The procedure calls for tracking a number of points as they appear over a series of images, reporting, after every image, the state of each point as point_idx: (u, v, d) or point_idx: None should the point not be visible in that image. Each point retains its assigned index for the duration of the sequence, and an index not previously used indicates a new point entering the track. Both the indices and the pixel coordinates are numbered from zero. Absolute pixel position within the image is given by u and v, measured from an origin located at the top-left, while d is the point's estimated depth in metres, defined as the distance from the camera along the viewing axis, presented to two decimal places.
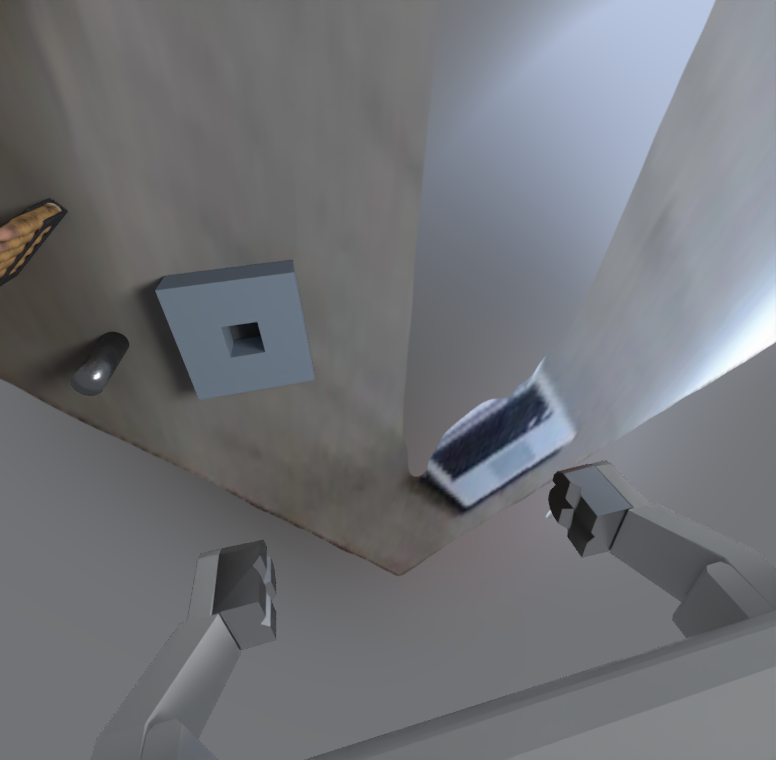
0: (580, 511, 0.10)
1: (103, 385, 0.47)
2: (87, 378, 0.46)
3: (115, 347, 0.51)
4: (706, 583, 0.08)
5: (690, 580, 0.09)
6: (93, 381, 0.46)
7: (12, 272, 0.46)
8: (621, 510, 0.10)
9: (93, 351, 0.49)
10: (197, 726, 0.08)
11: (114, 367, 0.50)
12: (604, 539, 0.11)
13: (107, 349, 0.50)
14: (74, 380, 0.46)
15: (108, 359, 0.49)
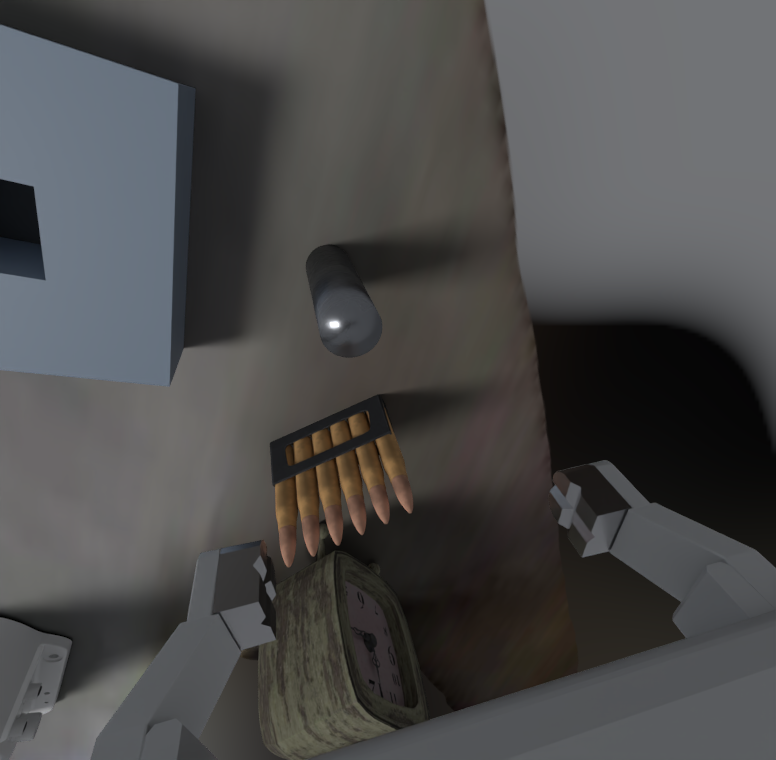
0: (581, 512, 0.10)
1: (326, 314, 0.20)
2: (342, 341, 0.21)
3: None
4: (706, 583, 0.08)
5: (689, 579, 0.09)
6: (336, 331, 0.20)
7: None
8: (621, 510, 0.10)
9: None
10: (197, 726, 0.08)
11: (316, 288, 0.23)
12: (604, 539, 0.11)
13: None
14: (367, 344, 0.21)
15: None
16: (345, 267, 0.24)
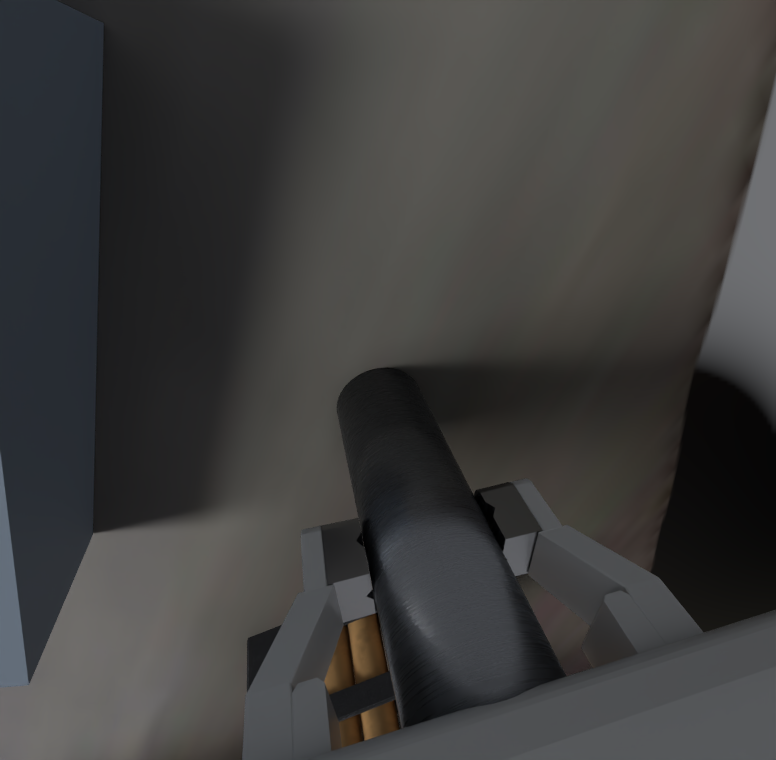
0: (494, 533, 0.10)
1: None
2: None
3: (352, 484, 0.12)
4: (604, 613, 0.08)
5: (598, 606, 0.09)
6: None
7: None
8: (531, 533, 0.10)
9: None
10: None
11: (380, 534, 0.10)
12: (519, 562, 0.10)
13: None
14: None
15: (369, 570, 0.10)
16: (440, 463, 0.11)
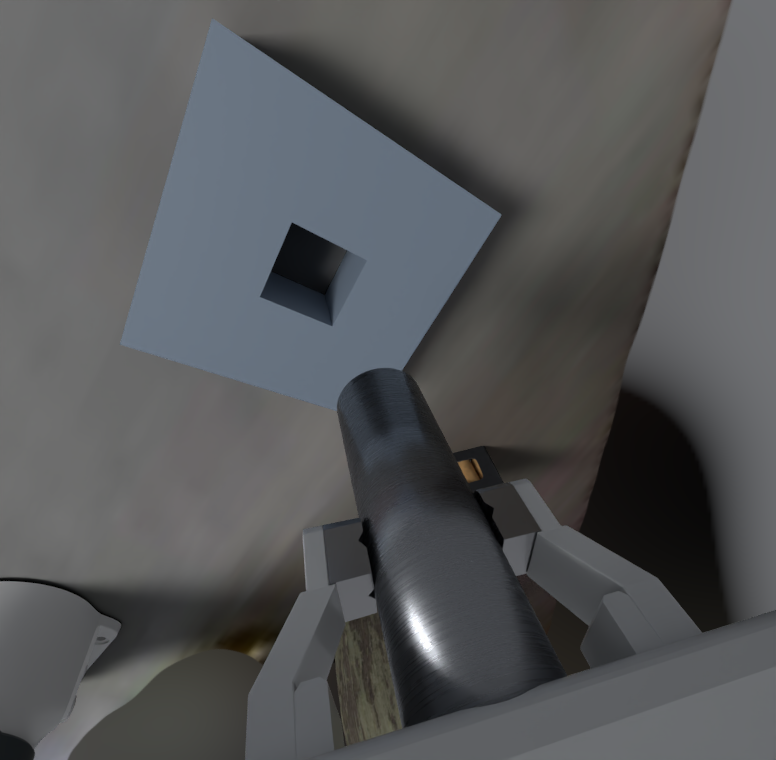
0: None
1: None
2: None
3: None
4: (602, 614, 0.08)
5: (597, 606, 0.09)
6: None
7: (478, 463, 0.40)
8: (530, 533, 0.10)
9: None
10: None
11: (381, 534, 0.09)
12: (518, 562, 0.10)
13: None
14: None
15: None
16: (441, 463, 0.11)
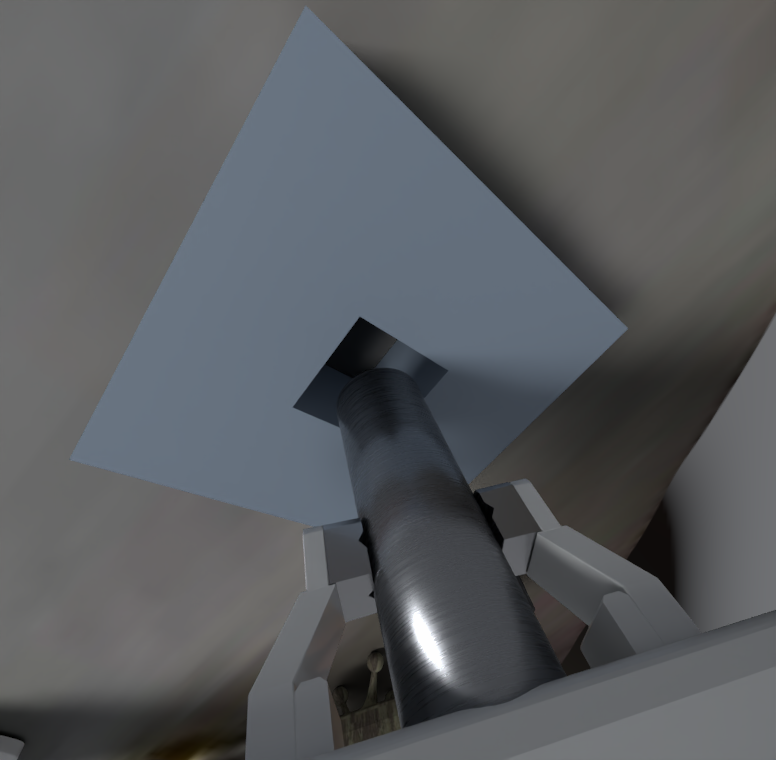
0: (493, 533, 0.10)
1: None
2: None
3: None
4: (603, 614, 0.08)
5: (597, 607, 0.09)
6: None
7: None
8: (530, 533, 0.10)
9: None
10: None
11: (380, 534, 0.09)
12: (518, 562, 0.10)
13: None
14: None
15: None
16: (440, 463, 0.11)
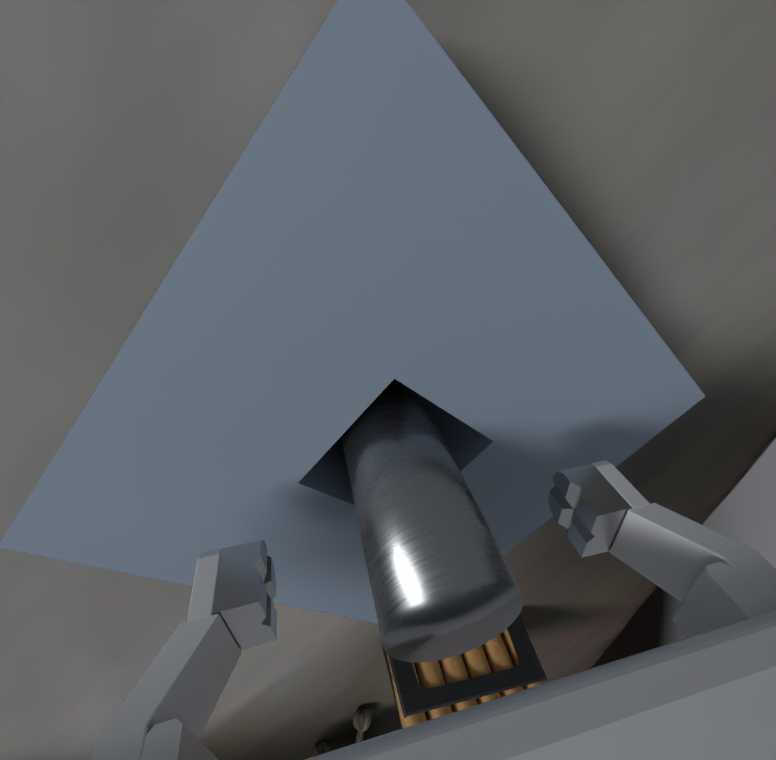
0: (581, 511, 0.10)
1: (404, 609, 0.08)
2: (429, 642, 0.09)
3: (342, 441, 0.14)
4: (706, 583, 0.08)
5: (689, 579, 0.09)
6: (421, 632, 0.09)
7: (509, 634, 0.30)
8: (621, 510, 0.10)
9: None
10: (197, 726, 0.08)
11: (363, 472, 0.11)
12: (604, 539, 0.11)
13: None
14: (480, 638, 0.09)
15: None
16: (417, 416, 0.12)
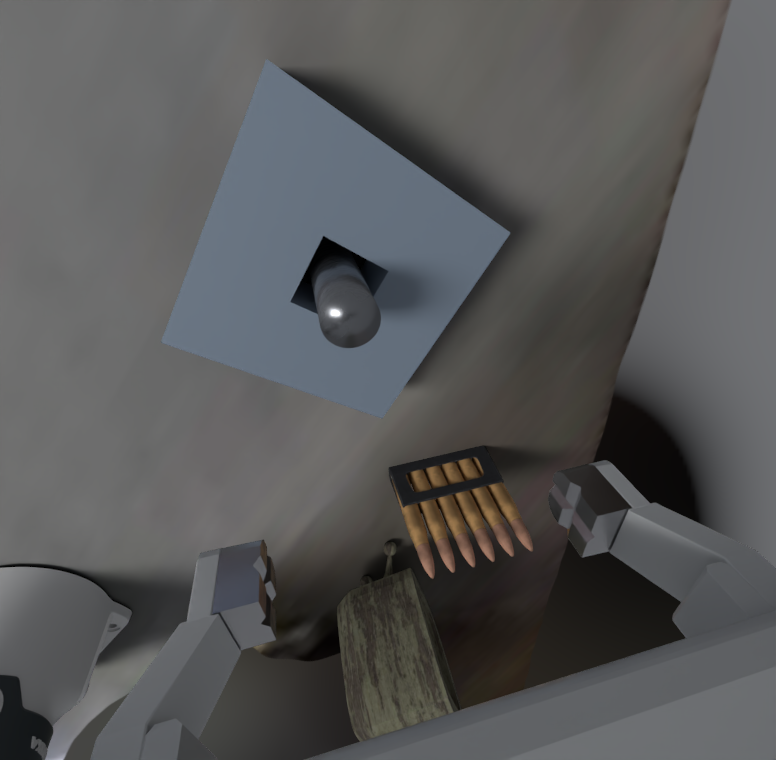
0: (580, 511, 0.10)
1: (324, 308, 0.20)
2: (343, 332, 0.21)
3: None
4: (706, 583, 0.08)
5: (690, 579, 0.09)
6: (336, 323, 0.21)
7: (479, 461, 0.42)
8: (621, 510, 0.10)
9: None
10: (197, 726, 0.08)
11: (316, 283, 0.23)
12: (604, 539, 0.11)
13: None
14: (368, 334, 0.22)
15: None
16: (343, 259, 0.24)
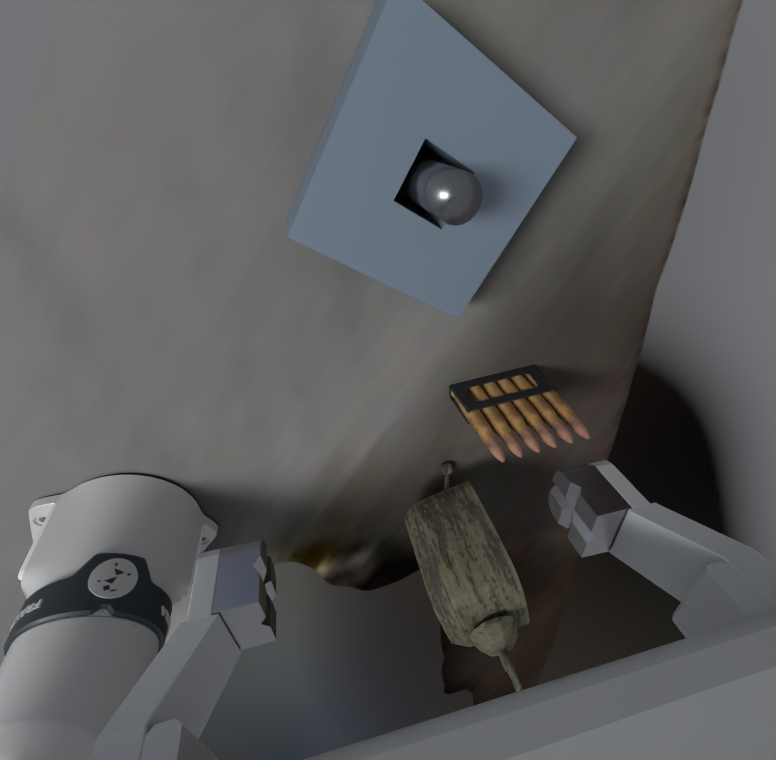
0: (580, 511, 0.10)
1: (439, 186, 0.25)
2: (451, 210, 0.26)
3: (408, 193, 0.31)
4: (706, 583, 0.08)
5: (690, 580, 0.09)
6: (447, 201, 0.26)
7: (531, 376, 0.47)
8: (621, 510, 0.10)
9: None
10: (197, 726, 0.08)
11: (419, 179, 0.28)
12: (604, 539, 0.11)
13: (416, 202, 0.31)
14: (471, 212, 0.26)
15: (418, 198, 0.29)
16: None
